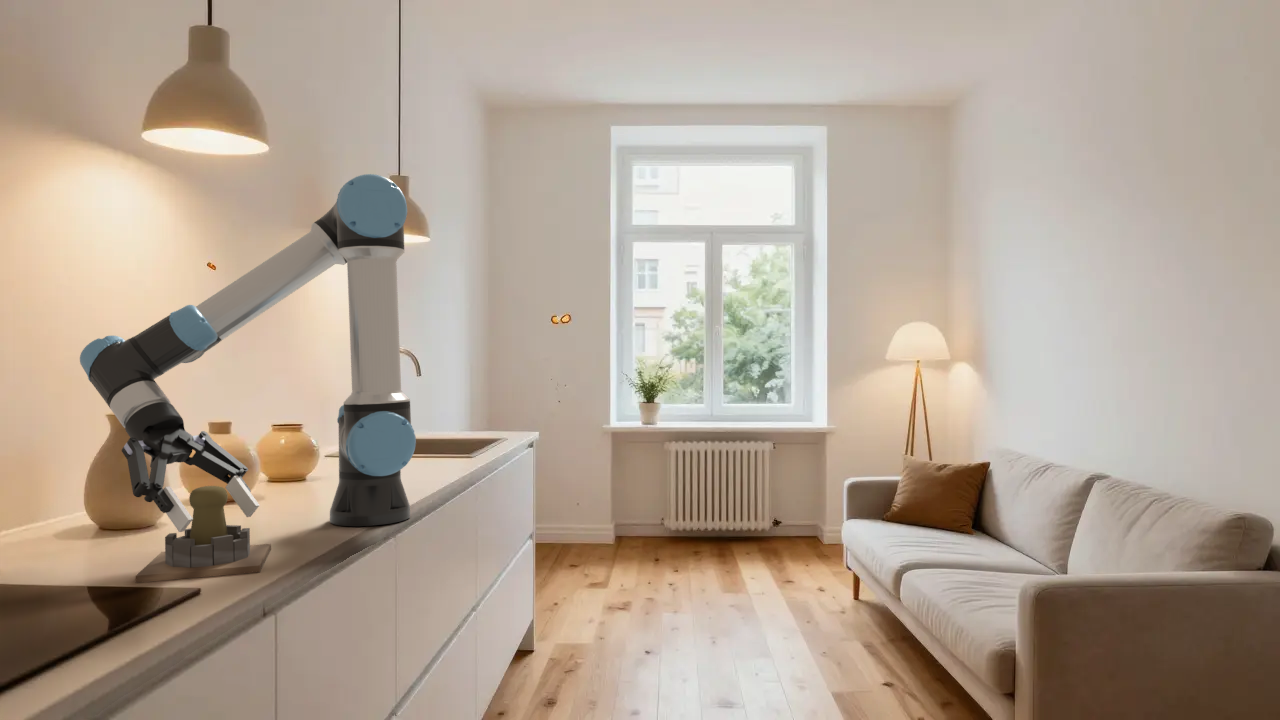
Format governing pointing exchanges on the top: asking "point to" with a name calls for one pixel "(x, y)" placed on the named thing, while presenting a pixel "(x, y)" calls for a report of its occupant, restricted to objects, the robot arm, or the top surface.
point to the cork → (208, 514)
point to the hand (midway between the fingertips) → (221, 518)
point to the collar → (206, 557)
